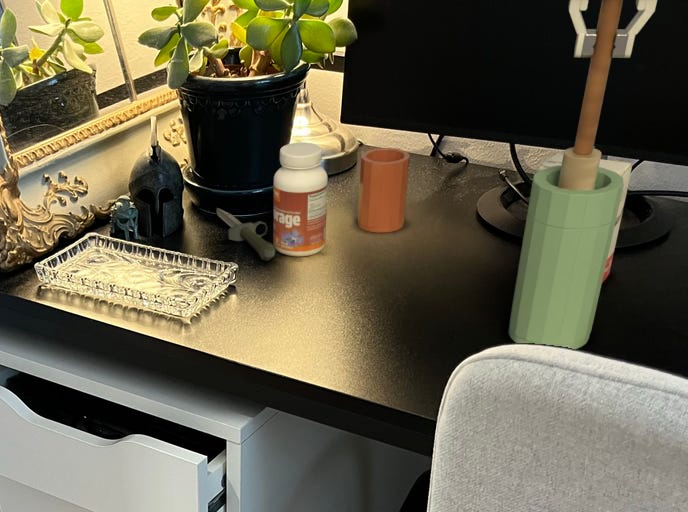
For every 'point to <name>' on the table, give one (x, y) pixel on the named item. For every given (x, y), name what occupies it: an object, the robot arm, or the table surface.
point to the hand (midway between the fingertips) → (601, 56)
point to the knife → (248, 235)
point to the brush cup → (383, 189)
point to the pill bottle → (300, 200)
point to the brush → (591, 106)
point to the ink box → (625, 172)
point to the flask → (563, 259)
